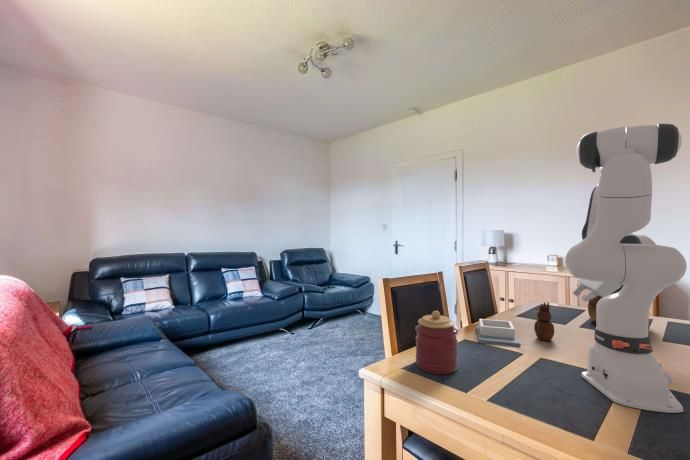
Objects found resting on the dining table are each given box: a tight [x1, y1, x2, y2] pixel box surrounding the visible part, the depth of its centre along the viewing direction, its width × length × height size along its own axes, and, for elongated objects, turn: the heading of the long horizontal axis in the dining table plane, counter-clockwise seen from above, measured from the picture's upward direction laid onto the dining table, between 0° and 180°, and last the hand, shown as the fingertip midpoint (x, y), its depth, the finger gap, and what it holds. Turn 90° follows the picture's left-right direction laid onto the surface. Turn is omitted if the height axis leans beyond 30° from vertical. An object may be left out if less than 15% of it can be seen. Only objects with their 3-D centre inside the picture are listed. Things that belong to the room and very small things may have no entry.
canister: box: [415, 310, 459, 375], centre depth 103 cm, size 13×13×18 cm
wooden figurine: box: [533, 301, 555, 342], centre depth 125 cm, size 7×6×15 cm
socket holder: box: [476, 318, 521, 348], centre depth 129 cm, size 18×14×5 cm
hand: (578, 297), depth 121 cm, fingers open, 8 cm apart
